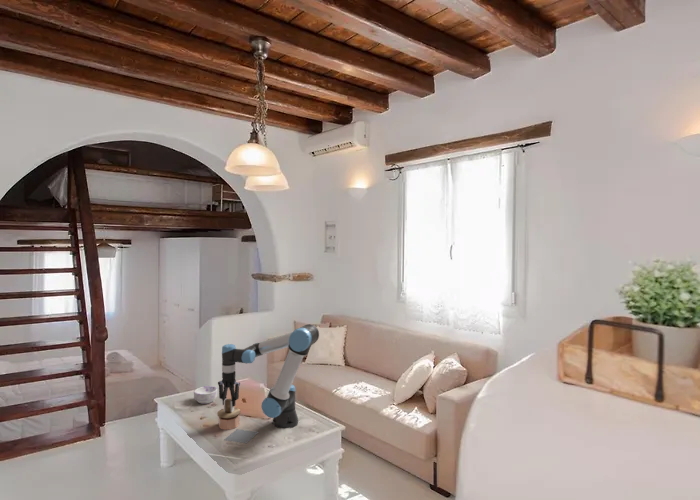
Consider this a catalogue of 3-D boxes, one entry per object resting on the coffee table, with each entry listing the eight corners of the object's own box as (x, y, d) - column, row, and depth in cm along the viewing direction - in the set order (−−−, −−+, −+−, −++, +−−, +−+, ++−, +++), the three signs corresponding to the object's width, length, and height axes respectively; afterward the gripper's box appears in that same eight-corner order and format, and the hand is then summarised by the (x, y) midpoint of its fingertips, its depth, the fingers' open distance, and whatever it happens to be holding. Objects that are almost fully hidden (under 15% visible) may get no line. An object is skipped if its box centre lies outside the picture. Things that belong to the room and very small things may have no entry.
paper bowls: (190, 405, 283) (190, 393, 283) (199, 397, 298) (199, 385, 298) (213, 405, 282) (213, 393, 282) (220, 397, 297) (220, 385, 297)
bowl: (242, 423, 255) (242, 413, 255) (232, 431, 245) (232, 421, 245) (225, 421, 258) (225, 411, 258) (215, 429, 248) (215, 418, 248)
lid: (244, 410, 256) (244, 397, 255) (232, 419, 243) (232, 405, 243) (225, 408, 259) (225, 395, 259) (212, 416, 247) (212, 402, 246)
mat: (259, 433, 243) (259, 432, 243) (246, 444, 229) (246, 443, 229) (237, 430, 247) (237, 428, 247) (223, 441, 233) (223, 439, 233)
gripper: (245, 370, 252) (245, 410, 253) (219, 368, 257) (219, 407, 257) (238, 374, 245) (238, 415, 245) (212, 372, 249) (212, 411, 250)
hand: (229, 410), depth 251 cm, fingers closed on lid, 4 cm apart
